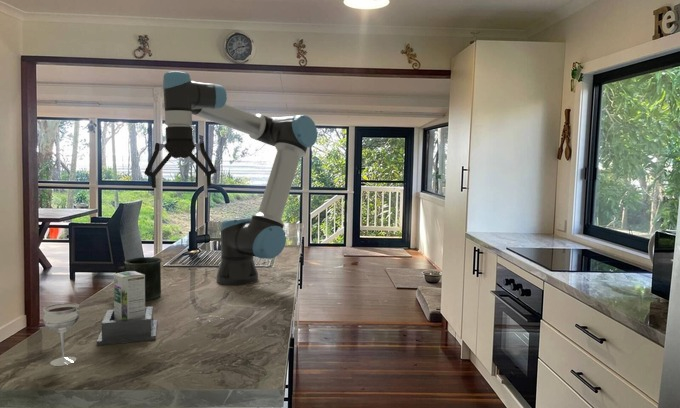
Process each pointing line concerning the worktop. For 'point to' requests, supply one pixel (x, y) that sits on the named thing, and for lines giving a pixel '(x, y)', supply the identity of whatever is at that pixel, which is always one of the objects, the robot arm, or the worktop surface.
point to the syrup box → (129, 295)
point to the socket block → (127, 329)
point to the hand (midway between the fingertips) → (182, 198)
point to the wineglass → (61, 325)
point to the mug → (146, 274)
